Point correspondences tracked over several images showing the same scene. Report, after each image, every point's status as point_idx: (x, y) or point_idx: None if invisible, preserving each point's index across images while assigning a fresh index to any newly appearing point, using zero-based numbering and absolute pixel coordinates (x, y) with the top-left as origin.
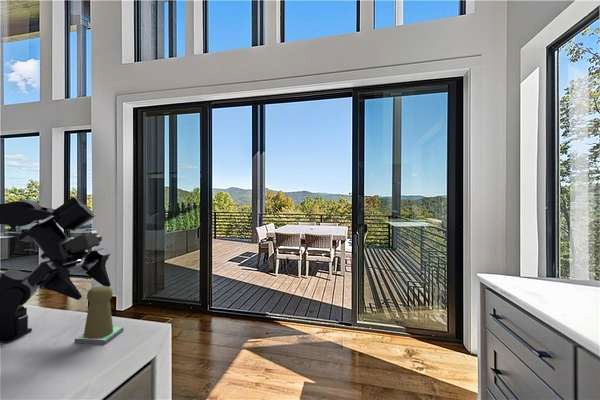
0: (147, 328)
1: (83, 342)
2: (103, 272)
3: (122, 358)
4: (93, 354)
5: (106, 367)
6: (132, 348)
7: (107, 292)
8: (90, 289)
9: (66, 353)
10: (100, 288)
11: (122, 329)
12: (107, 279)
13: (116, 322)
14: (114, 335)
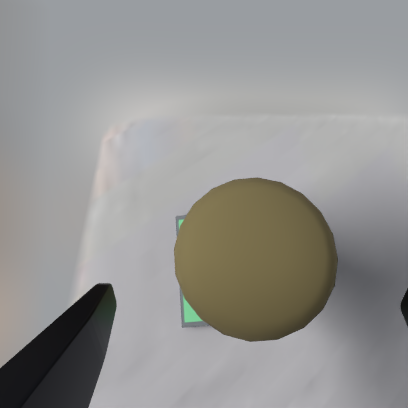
0: (146, 157)
1: None
2: (19, 403)
3: (330, 115)
4: (336, 200)
5: (379, 123)
6: (276, 123)
7: (270, 180)
8: (301, 310)
9: (356, 283)
10: (285, 226)
11: (182, 216)
12: (74, 320)
13: (114, 290)
14: None
